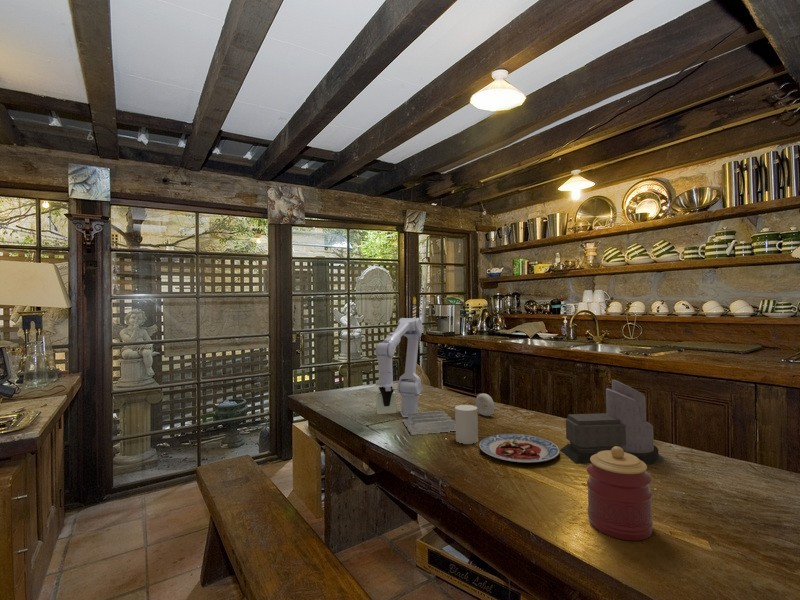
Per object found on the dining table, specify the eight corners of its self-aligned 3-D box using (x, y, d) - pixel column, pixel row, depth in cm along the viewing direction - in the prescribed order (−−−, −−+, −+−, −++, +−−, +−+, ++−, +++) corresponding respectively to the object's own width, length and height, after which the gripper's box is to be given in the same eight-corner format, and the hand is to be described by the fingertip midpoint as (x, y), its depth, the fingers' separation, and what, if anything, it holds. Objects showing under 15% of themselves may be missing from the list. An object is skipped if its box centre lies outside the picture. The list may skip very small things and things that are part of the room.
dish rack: (403, 421, 173) (402, 412, 173) (448, 418, 176) (447, 409, 176) (411, 435, 155) (410, 425, 155) (461, 431, 159) (460, 421, 159)
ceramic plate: (567, 471, 121) (566, 460, 121) (479, 466, 126) (479, 456, 126) (552, 441, 146) (552, 433, 146) (479, 438, 151) (479, 430, 151)
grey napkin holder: (642, 444, 140) (640, 374, 140) (675, 463, 124) (673, 383, 124) (556, 448, 139) (555, 377, 139) (579, 467, 123) (577, 386, 123)
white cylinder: (479, 443, 144) (479, 410, 144) (457, 444, 145) (456, 410, 145) (476, 436, 153) (475, 404, 153) (454, 436, 153) (453, 405, 153)
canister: (630, 509, 98) (628, 436, 98) (667, 541, 85) (665, 456, 85) (577, 511, 97) (575, 438, 97) (606, 543, 84) (604, 458, 84)
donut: (474, 414, 182) (473, 392, 182) (479, 412, 184) (479, 391, 184) (491, 419, 174) (490, 396, 174) (496, 417, 176) (495, 394, 176)
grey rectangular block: (376, 412, 165) (375, 393, 165) (395, 411, 167) (395, 392, 167) (376, 414, 163) (376, 394, 163) (396, 412, 165) (395, 393, 165)
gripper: (374, 369, 171) (374, 401, 171) (377, 375, 157) (378, 410, 157) (390, 368, 173) (391, 400, 173) (395, 374, 158) (396, 409, 158)
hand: (386, 405), depth 165 cm, fingers closed on grey rectangular block, 2 cm apart
